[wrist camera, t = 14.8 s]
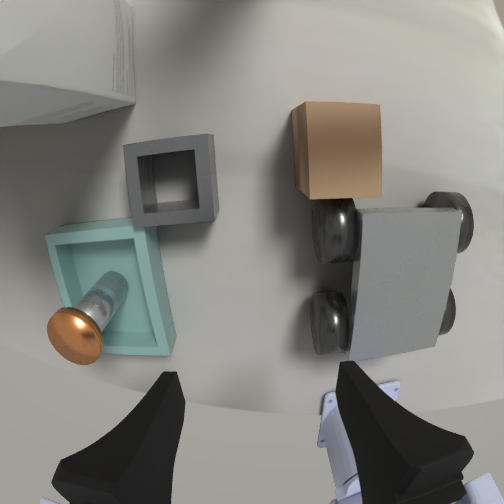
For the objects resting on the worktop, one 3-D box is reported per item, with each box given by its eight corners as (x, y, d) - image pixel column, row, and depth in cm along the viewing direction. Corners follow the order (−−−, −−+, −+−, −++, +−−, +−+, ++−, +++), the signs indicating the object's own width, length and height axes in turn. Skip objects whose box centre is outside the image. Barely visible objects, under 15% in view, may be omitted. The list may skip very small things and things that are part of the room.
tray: (176, 336, 24) (170, 355, 22) (91, 335, 24) (80, 351, 22) (154, 215, 21) (143, 224, 18) (61, 225, 21) (44, 235, 18)
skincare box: (61, 30, 15) (-90, -21, 1) (139, 4, 15) (17, -116, 1) (62, 129, 18) (-122, 155, 4) (142, 108, 18) (-46, 79, 3)
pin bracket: (219, 209, 21) (214, 221, 18) (147, 215, 21) (133, 227, 18) (213, 134, 19) (207, 133, 16) (139, 143, 19) (123, 145, 16)
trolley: (423, 316, 24) (450, 349, 19) (309, 331, 24) (321, 372, 19) (442, 187, 20) (482, 201, 15) (311, 187, 20) (331, 201, 16)
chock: (352, 183, 20) (381, 197, 16) (295, 185, 20) (309, 199, 16) (350, 111, 18) (379, 104, 14) (291, 110, 18) (305, 101, 14)
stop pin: (140, 306, 23) (107, 367, 16) (100, 306, 23) (59, 362, 16) (130, 262, 21) (87, 314, 14) (89, 264, 21) (39, 313, 14)
